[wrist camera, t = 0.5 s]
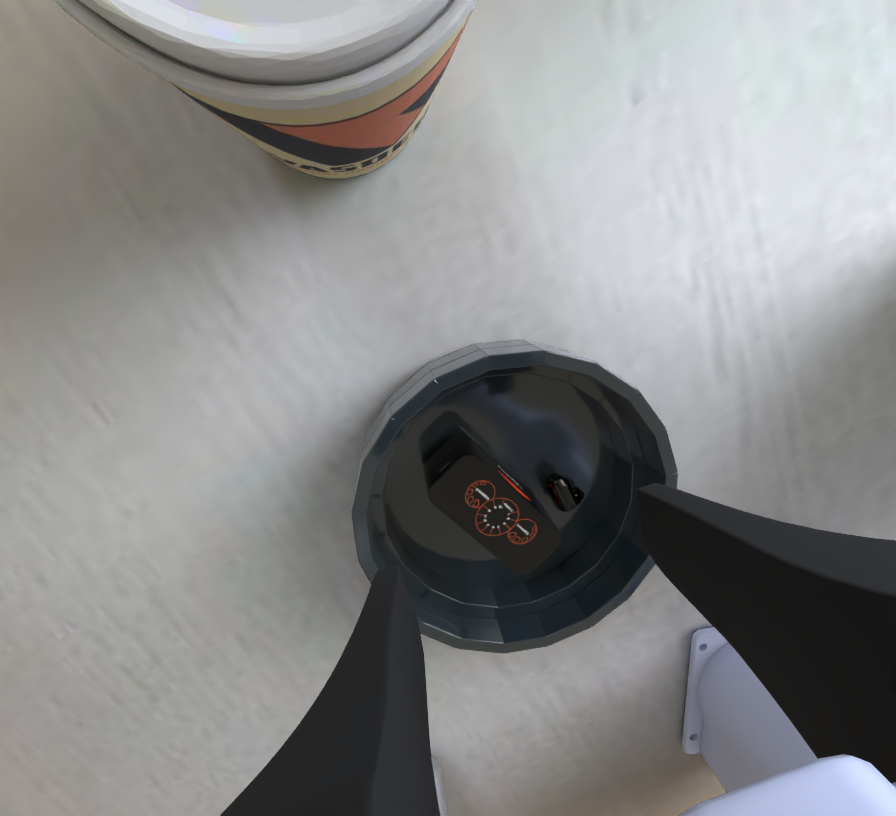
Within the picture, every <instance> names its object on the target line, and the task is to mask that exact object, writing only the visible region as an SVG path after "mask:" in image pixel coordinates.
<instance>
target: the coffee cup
mask: <svg viewBox="0 0 896 816" xmlns="http://www.w3.org/2000/svg"><path fill="white" fill-rule="evenodd" d="M54 1H55V2H56V3H57V4H58V5H59V6H60V7H61V8H62V9H63V10H64V11H65V12H66V13H68V14H69V15H70V16H71V17H73V18H74V19H75V20H76V21H77V22H79V23H80V24H81V25H82V26H84V27H85V28H86V29H87V30H88V31H90V32H91V33H92V34H93V35H94V36H96V37H97V38H99V39H100V40H102V41H103V42H105V43H106V44H107V45H109V46H110V47H112V48H113V49H115V50H116V51H118V52H119V53H121V54H122V55H124V56H125V57H127V58H128V59H130V60H131V61H133V62H135V63H136V64H138V65H140V66H142V67H143V68H145V69H147V70H149V71H151V72H152V73H154V74H156V75H158V76H160V77H161V78H163V79H165V80H167V81H169V82H170V83H172V84H173V85H174V86H175V87H177V88H178V89H179V90H181V91H182V92H183V93H185V94H186V95H187V96H189V97H190V98H192V99H193V100H194V101H196V102H197V103H199V104H200V105H201V106H203V107H204V108H205V109H207V110H208V111H210V112H211V113H212V114H214V115H215V116H216V117H218V118H219V119H221V120H222V121H223V122H225V123H226V124H228V125H229V126H230V127H232V128H233V129H235V130H236V131H237V132H239V133H240V134H242V135H243V136H245V137H246V138H247V139H249V140H250V141H252V142H253V143H255V144H256V145H257V146H259V147H260V148H262V149H263V150H264V151H266V152H267V153H269V154H270V155H272V156H273V157H275V158H277V159H278V160H280V161H282V162H283V163H285V164H287V165H288V166H290V167H292V168H295V169H297V170H299V171H302V172H304V173H307V174H310V175H313V176H318V177H323V178H335V179H336V178H350V177H355V176H359V175H363V174H366V173H369V172H371V171H374V170H376V169H378V168H379V167H381V166H383V165H385V164H386V163H388V162H389V161H390V160H392V159H393V158H394V157H395V156H396V155H397V154H398V153H400V152H401V151H402V150H403V148H404V147H405V146H406V145H407V144H408V142H409V141H410V140H411V138H412V137H413V135H414V134H415V132H416V130H417V128H418V127H419V125H420V123H421V121H422V119H423V117H424V115H425V113H426V111H427V109H428V107H429V104H430V102H431V100H432V98H433V96H434V94H435V92H436V89H437V87H438V85H439V83H440V81H441V79H442V76H443V74H444V72H445V70H446V68H447V65H448V63H449V61H450V59H451V57H452V54H453V52H454V50H455V48H456V45H457V43H458V41H459V39H460V37H461V34H462V32H463V30H464V28H465V26H466V23H467V21H468V19H469V16H470V14H471V12H472V9H473V7H474V6H475V4H476V3H477V1H478V0H54Z"/></svg>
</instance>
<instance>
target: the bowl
mask: <svg viewBox="0 0 896 816" xmlns="http://www.w3.org/2000/svg"><path fill="white" fill-rule="evenodd" d="M456 433H463V434H465V435H467V436H468V437H470V438H471V439H472V440H473V441H474V442H475V443H476V444H477V445H478V446H479V447H480V448H482V449H483V450H484V451H485V452H486V453H487V454H488V455H489V456H490V457H491V458H492V459H493V460H495V461H496V462H497V463H498V464H499V465H500V466H501V467H502V468H503V469H504V470H505V471H507V472H508V473H509V474H510V475H511V476H512V477H513V478H514V479H515V480H516V481H517V482H518V483H520V484H521V485H522V486H523V487H524V488H525V489H526V490H527V491H528V492H529V493H530V494H532V495H533V496H534V497H535V498H536V499H537V500H538V501H539V502H540V503H541V504H542V506H543V507H544V509H545V510H546V511H547V513H548V514H549V516H550V517H551V519H552V520H553V522H554V523H555V525H556V526H557V528H558V529H559V531H560V532H561V534H562V542H561V544H560V545H559V547H558V548H557V549H556V550H555V551H554V552H553V553H551V554H550V555H549V556H548V557H547V558H546V559H545V560H544V561H543V562H542V563H541V564H540V565H539V566H538V567H536V568H535V569H534V570H533V571H532V572H530V573H528V574H526V575H520V574H516V573H515V572H513V571H512V570H511V569H510V568H508V567H507V566H506V565H505V564H504V563H502V562H501V561H500V560H499V559H498V558H496V557H495V556H494V555H493V554H492V553H490V552H489V551H488V550H487V549H486V548H484V547H483V546H482V545H481V544H480V543H478V542H477V541H476V540H475V539H474V538H472V537H471V536H470V535H469V534H468V533H467V532H465V531H464V530H463V529H462V528H461V527H459V526H458V525H457V524H456V523H455V522H453V521H452V520H451V519H450V518H449V517H447V516H446V515H445V514H444V513H443V512H441V511H440V510H439V509H438V508H437V507H435V506H434V505H433V504H432V503H431V502H430V500H429V497H428V492H427V487H426V482H425V476H424V464H425V462H426V461H427V459H428V458H429V457H430V456H431V455H432V454H433V453H434V452H435V451H436V450H437V449H438V448H439V447H440V446H441V445H442V444H443V443H444V442H445V441H446V440H447V439H448V438H449V437H450V436H452V435H453V434H456ZM677 472H678V471H677V468H676V464H675V460H674V456H673V453H672V449H671V445H670V442H669V438H668V434H667V431H666V429H665V426H664V425H663V423H662V422H661V420H660V419H659V418H658V416H657V415H656V414H655V412H654V411H653V409H652V408H651V407H650V405H649V404H648V402H647V401H646V400H645V398H644V397H643V396H642V394H641V393H640V391H639V390H638V389H636V388H635V387H633V386H632V385H630V384H629V383H627V382H626V381H624V380H623V379H621V378H620V377H618V376H617V375H615V374H614V373H612V372H611V371H609V370H608V369H606V368H605V367H603V366H602V365H600V364H598V363H597V362H594V361H592V360H589V359H587V358H584V357H582V356H579V355H577V354H574V353H572V352H569V351H567V350H564V349H560V348H555V347H551V346H547V345H543V344H539V343H535V342H530V341H526V340H510V341H499V342H488V343H477V344H473V345H470V346H467V347H465V348H463V349H460V350H458V351H456V352H453V353H451V354H449V355H446V356H444V357H442V358H439V359H437V360H435V361H432V362H430V363H428V364H426V365H425V366H424V367H423V368H422V369H420V370H419V371H418V372H417V373H416V374H415V375H414V376H412V377H411V378H410V379H409V380H408V381H407V382H406V383H404V384H403V385H402V386H401V387H400V388H399V389H397V390H396V391H395V392H394V393H393V394H392V395H391V396H390V397H389V398H388V400H387V402H386V403H385V405H384V407H383V408H382V410H381V412H380V413H379V415H378V417H377V418H376V420H375V422H374V423H373V425H372V427H371V429H370V430H369V432H368V434H367V435H366V439H365V442H364V447H363V451H362V456H361V461H360V466H359V471H358V475H357V480H356V487H355V494H354V500H353V507H352V521H353V528H354V535H355V541H356V548H357V555H358V560H359V563H360V565H361V567H362V569H363V570H364V572H365V574H366V576H367V578H368V579H369V581H370V583H371V585H372V582H373V579H374V576H375V574H376V572H377V571H378V570H381V569H385V568H388V567H391V566H394V565H397V564H398V565H399V568H400V571H401V574H402V577H403V579H404V582H405V585H406V588H407V591H408V594H409V597H410V599H411V602H412V605H413V608H414V611H415V614H416V617H417V620H418V625H419V630H420V633H421V634H423V635H425V636H428V637H430V638H433V639H435V640H437V641H440V642H442V643H445V644H447V645H449V646H452V647H454V648H458V649H465V650H475V651H484V652H494V653H509V652H516V651H522V650H528V649H534V648H540V647H546V646H549V645H552V644H554V643H557V642H559V641H561V640H563V639H566V638H568V637H570V636H573V635H575V634H577V633H579V632H582V631H584V630H586V629H589V628H591V626H594V625H595V624H596V623H598V622H599V621H600V620H602V619H603V618H604V617H605V616H607V615H608V614H609V613H611V612H612V611H613V610H614V609H616V608H617V607H618V606H620V605H621V604H622V603H623V602H625V601H626V600H627V599H628V597H630V596H631V595H632V594H633V592H634V591H635V590H636V588H637V587H638V586H639V585H640V583H641V582H642V581H643V579H644V578H645V577H646V575H647V574H648V573H649V572H650V570H651V569H652V568H653V566H654V565H655V564H656V563H655V562H654V560H653V559H652V557H651V556H650V555H649V553H648V552H647V550H646V549H645V548H644V545H643V537H642V530H641V522H640V514H639V507H638V499H637V491H636V489H637V488H641V487H644V486H647V485H650V484H653V483H658V484H662V485H665V486H669V487H672V488H675V489H677V478H678V473H677ZM552 473H557V474H560V475H562V476H564V477H565V478H566V479H567V480H568V481H569V482H570V484H571V487H572V488H573V487H578V488H580V489H581V490H582V491H583V492H584V493H585V495H584V498H583V500H582V501H581V503H580V504H578V505H577V506H576V507H575V508H574V509H573V510H571V511H567V512H563V511H560V510H558V509H557V508H556V507H555V506H554V504H553V502H552V500H551V498H550V496H549V494H548V492H547V490H546V488H545V483H546V478H547V477H548V476H549V475H550V474H552Z"/></svg>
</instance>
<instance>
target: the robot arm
mask: <svg viewBox="0 0 896 816" xmlns="http://www.w3.org/2000/svg"><path fill="white" fill-rule="evenodd" d="M636 491H637V499H638V507H639V514H640V522H641V530H642V537H643V545H644V548H645V549H646V550H647V552H648V553H649V555H650V556H651V557H652V559H653V560H654V562H655V563H656V564H657V566H658V567H659V568H660V570H661V571H662V572H663V573H664V575H665V576H666V577H667V578H668V579H669V580H670V581H671V582H672V584H673V585H674V586H675V587H676V588H677V589H678V590H679V591H680V592H681V593H682V594H683V595H684V596H685V597H686V598H687V599H688V600H689V601H690V602H691V604H692V605H693V606H694V607H695V608H696V609H697V610H698V611H699V612H700V613H701V614H702V615H703V616H704V617H705V618H706V619H707V620H708V621H709V622H710V623H711V624H712V625H713V626H714V627H711V628H705V629H699V630H697V631H695V632H694V633H693V635H692V641H691V652H690V663H689V674H688V685H687V695H686V706H685V717H684V728H683V739H682V748H683V749H684V751H685V752H686V753H687V754H697V753H701V754H702V756H703V757H704V759H705V760H706V762H707V763H708V765H709V766H710V768H711V769H712V771H713V772H714V774H715V775H716V777H717V778H718V780H719V781H720V783H721V784H722V786H723V788H724V789H725V791H726V792H727V793H726V794H723V795H720V796H717V797H715V798H712V799H709V800H707V801H704V802H701V803H699V804H697V805H696V806H694V807H692V808H690V809H689V810H687V811H685V812H683V813H682V814H680V815H678V816H896V541H895V540H885V539H877V538H868V537H861V536H855V535H848V534H841V533H835V532H829V531H824V530H818V529H813V528H808V527H804V526H799V525H794V524H790V523H785V522H781V521H777V520H773V519H769V518H766V517H762V516H758V515H755V514H751V513H748V512H744V511H741V510H738V509H734V508H731V507H728V506H725V505H722V504H719V503H716V502H713V501H710V500H707V499H704V498H701V497H698V496H695V495H692V494H689V493H686V492H683V491H681V490H678V489H675V488H672V487H669V486H665V485H662V484H658V483H653V484H650V485H647V486H644V487H641V488H637V489H636ZM221 816H440V810H439V804H438V798H437V791H436V785H435V778H434V772H433V765H432V759H431V749H430V740H429V725H428V709H427V693H426V678H425V663H424V653H423V647H422V641H421V636H420V630H419V625H418V620H417V617H416V614H415V611H414V608H413V605H412V602H411V599H410V597H409V594H408V591H407V588H406V585H405V582H404V579H403V577H402V574H401V571H400V568H399V565H398V564H397V565H394V566H391V567H388V568H385V569H381V570H378V571H377V572H376V574H375V576H374V579H373V582H372V585H371V588H370V591H369V593H368V596H367V599H366V602H365V604H364V607H363V609H362V612H361V614H360V616H359V619H358V621H357V624H356V626H355V628H354V631H353V633H352V635H351V637H350V639H349V641H348V643H347V645H346V647H345V649H344V651H343V654H342V656H341V658H340V660H339V661H338V663H337V665H336V667H335V669H334V671H333V672H332V674H331V676H330V678H329V679H328V681H327V683H326V684H325V686H324V688H323V689H322V691H321V693H320V694H319V696H318V697H317V699H316V700H315V702H314V703H313V705H312V706H311V708H310V709H309V711H308V712H307V714H306V715H305V716H304V718H303V719H302V721H301V722H300V724H299V725H298V726H297V728H296V729H295V730H294V732H293V733H292V734H291V736H290V737H289V738H288V739H287V741H286V742H285V743H284V745H283V746H282V747H281V748H280V749H279V751H278V752H277V753H276V754H275V756H274V757H273V758H272V759H271V760H270V762H269V763H268V764H267V765H266V766H265V767H264V769H263V770H262V771H261V772H260V773H259V774H258V775H257V777H256V778H255V779H254V780H253V781H252V782H251V783H250V784H249V785H248V786H247V787H246V788H245V789H244V791H243V792H242V793H241V794H240V795H239V796H238V797H237V798H236V799H235V800H234V801H233V802H232V803H231V805H230V806H229V807H228V808H227V809H226V810H225V811H224V812H223V813H222V814H221Z"/></svg>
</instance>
